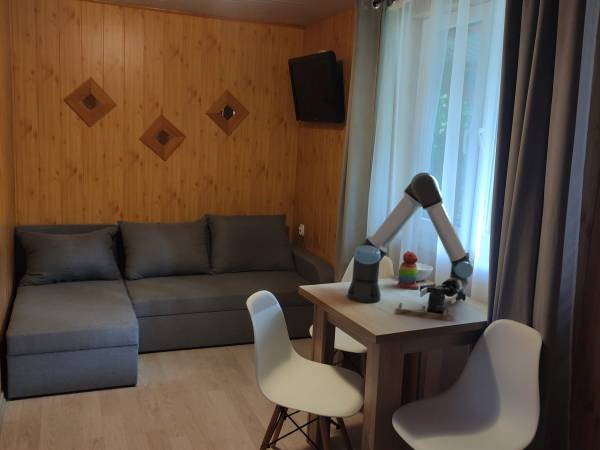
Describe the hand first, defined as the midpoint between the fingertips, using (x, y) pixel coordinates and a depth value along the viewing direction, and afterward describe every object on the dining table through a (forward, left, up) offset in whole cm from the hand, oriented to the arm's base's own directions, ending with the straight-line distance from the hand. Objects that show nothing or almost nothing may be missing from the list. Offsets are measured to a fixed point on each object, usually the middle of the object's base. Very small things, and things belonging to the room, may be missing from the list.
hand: (436, 296), depth 248 cm
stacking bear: (-15, +44, -9) cm, 47 cm away
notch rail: (-5, +1, -8) cm, 10 cm away
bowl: (-12, +62, -9) cm, 64 cm away
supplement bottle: (0, +1, -8) cm, 8 cm away
